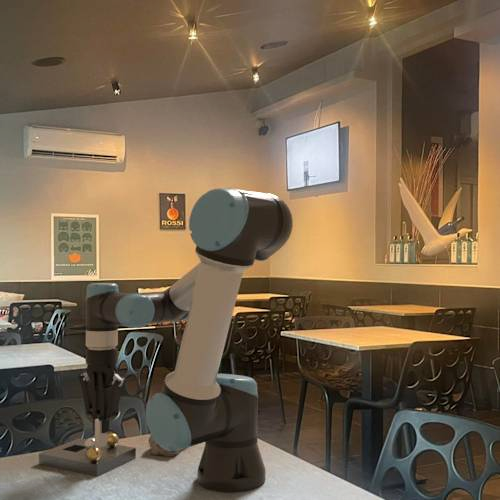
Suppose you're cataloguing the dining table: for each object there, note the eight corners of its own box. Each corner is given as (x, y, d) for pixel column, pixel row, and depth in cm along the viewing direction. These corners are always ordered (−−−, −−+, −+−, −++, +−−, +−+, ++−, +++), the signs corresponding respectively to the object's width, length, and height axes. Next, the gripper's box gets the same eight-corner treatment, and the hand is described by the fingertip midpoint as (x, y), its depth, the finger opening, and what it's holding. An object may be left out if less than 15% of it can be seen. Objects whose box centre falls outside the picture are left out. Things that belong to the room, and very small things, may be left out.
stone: (195, 441, 164) (158, 441, 165) (194, 420, 163) (157, 420, 164) (185, 462, 151) (145, 463, 152) (183, 439, 150) (143, 440, 151)
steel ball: (91, 435, 150) (90, 447, 150) (82, 438, 147) (81, 451, 147) (101, 437, 148) (100, 450, 148) (92, 441, 146) (91, 454, 146)
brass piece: (103, 460, 141) (103, 446, 141) (94, 464, 138) (94, 450, 138) (93, 458, 143) (93, 444, 143) (83, 462, 140) (83, 448, 140)
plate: (135, 458, 150) (135, 447, 150) (97, 476, 138) (97, 465, 138) (79, 447, 158) (79, 438, 158) (38, 463, 146) (38, 453, 146)
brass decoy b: (121, 445, 152) (121, 432, 152) (112, 449, 149) (112, 435, 149) (111, 443, 154) (111, 430, 154) (102, 447, 151) (102, 434, 151)
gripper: (133, 347, 147) (132, 445, 147) (91, 343, 153) (90, 437, 153) (112, 351, 140) (111, 454, 140) (70, 347, 146) (69, 445, 146)
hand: (100, 445), depth 147 cm, fingers closed
